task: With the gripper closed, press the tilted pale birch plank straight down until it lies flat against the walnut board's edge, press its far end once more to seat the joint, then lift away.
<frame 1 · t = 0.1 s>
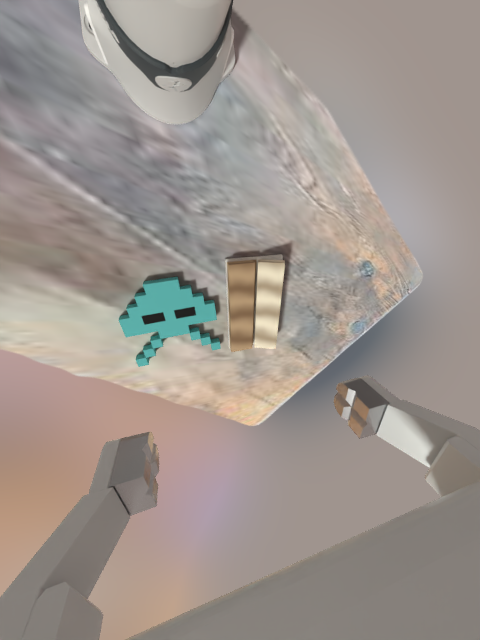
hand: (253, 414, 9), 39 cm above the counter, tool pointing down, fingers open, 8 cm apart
alien figure: (172, 318, 49), on the counter
underlay mat: (252, 305, 53), on the counter
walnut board: (239, 307, 52), resting on underlay mat
birch plank: (267, 308, 51), point 3 cm above the counter, hinge at 22.0°
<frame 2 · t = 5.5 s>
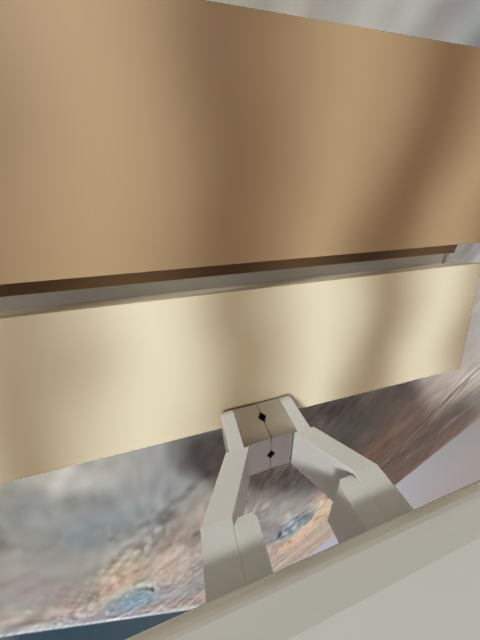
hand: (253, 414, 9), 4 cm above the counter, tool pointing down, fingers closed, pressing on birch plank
underlay mat: (234, 266, 10), on the counter
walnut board: (231, 175, 8), resting on underlay mat
birch plank: (249, 350, 9), point 2 cm above the counter, hinge at 12.2°, touching gripper
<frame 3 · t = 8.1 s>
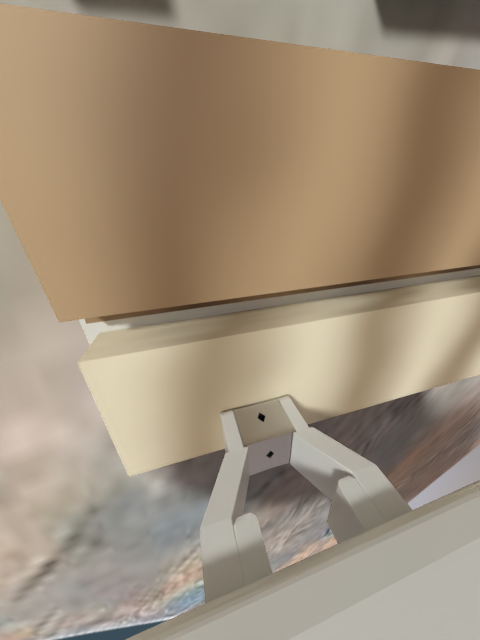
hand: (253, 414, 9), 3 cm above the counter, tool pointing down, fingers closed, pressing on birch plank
underlay mat: (350, 276, 11), on the counter
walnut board: (366, 196, 9), resting on underlay mat
birch plank: (361, 352, 11), point 2 cm above the counter, hinge at 2.3°, touching gripper
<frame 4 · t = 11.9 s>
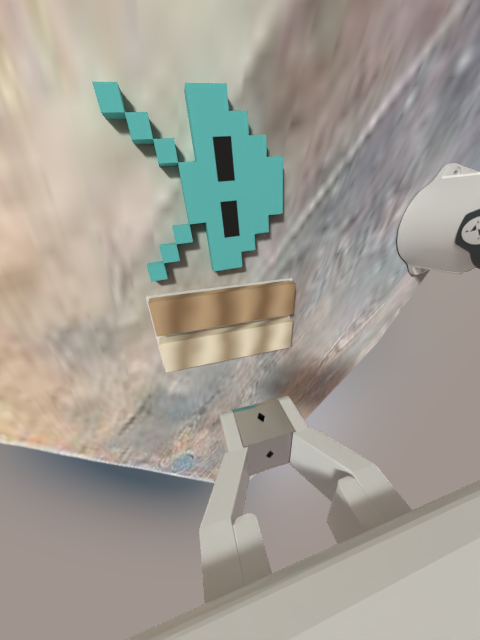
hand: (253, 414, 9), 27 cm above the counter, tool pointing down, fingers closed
alien figure: (208, 194, 29), on the counter
underlay mat: (226, 321, 38), on the counter
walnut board: (225, 303, 36), resting on underlay mat
birch plank: (230, 342, 38), point 2 cm above the counter, hinge at -0.4°
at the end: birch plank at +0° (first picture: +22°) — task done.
